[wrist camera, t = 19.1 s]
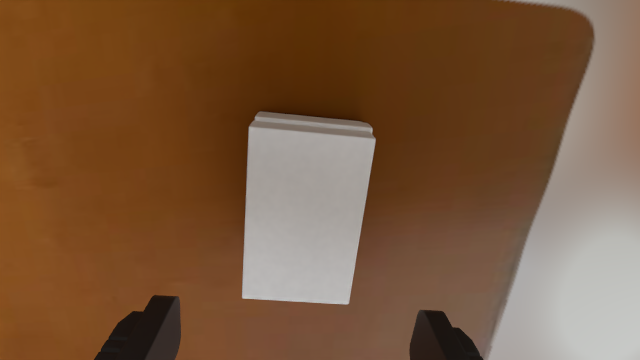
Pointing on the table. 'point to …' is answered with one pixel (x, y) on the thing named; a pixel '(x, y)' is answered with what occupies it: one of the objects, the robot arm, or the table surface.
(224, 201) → the table surface
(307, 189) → the white book
